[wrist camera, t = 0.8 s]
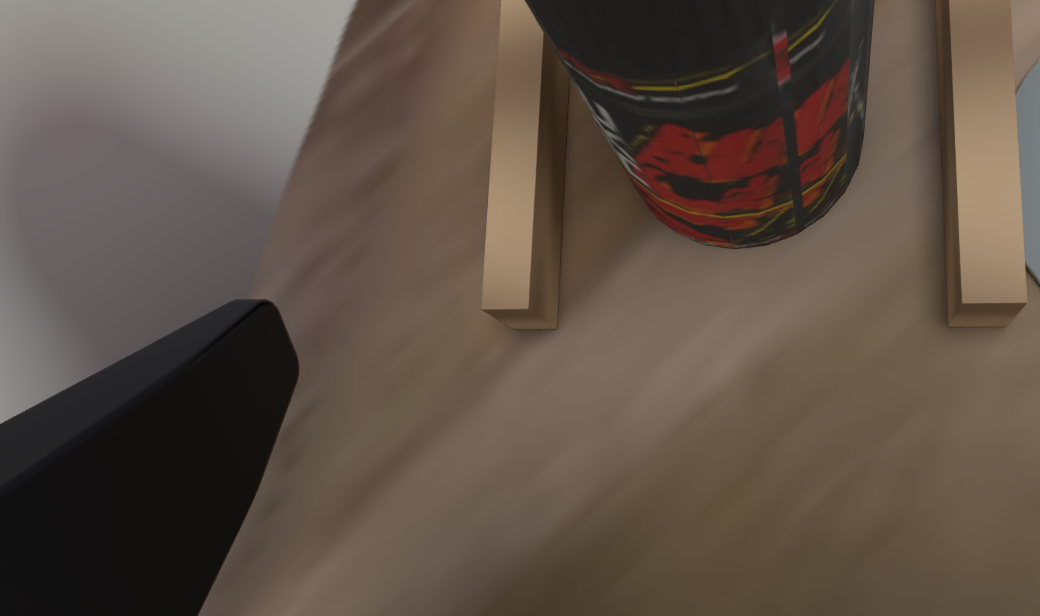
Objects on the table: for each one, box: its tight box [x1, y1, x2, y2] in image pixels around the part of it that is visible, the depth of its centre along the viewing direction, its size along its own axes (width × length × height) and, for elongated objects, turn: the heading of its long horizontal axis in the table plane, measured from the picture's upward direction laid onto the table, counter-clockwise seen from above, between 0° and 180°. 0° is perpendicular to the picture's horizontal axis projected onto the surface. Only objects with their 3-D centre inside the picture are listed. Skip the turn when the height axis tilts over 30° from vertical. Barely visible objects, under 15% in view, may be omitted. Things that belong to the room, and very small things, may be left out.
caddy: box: [481, 0, 1027, 329], centre depth 23 cm, size 11×12×2 cm
